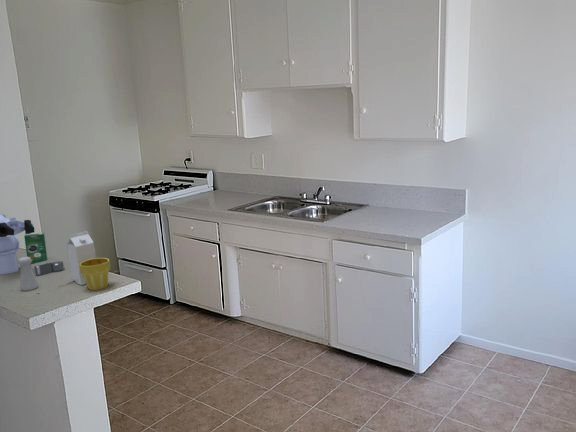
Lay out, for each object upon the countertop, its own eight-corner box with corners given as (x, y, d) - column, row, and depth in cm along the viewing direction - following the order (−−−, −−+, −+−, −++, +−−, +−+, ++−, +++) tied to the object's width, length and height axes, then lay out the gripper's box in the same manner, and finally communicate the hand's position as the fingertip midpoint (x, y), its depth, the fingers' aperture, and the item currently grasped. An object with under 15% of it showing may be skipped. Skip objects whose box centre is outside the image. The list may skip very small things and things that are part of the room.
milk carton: (72, 282, 205) (65, 233, 201) (90, 277, 210) (83, 229, 206) (81, 285, 200) (74, 236, 196) (99, 280, 205) (92, 232, 201)
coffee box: (48, 260, 238) (44, 232, 236) (48, 262, 236) (43, 233, 233) (28, 263, 236) (24, 234, 233) (28, 265, 233) (23, 236, 230)
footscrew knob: (60, 267, 221) (59, 259, 220) (66, 269, 218) (65, 260, 217) (33, 274, 213) (32, 265, 212) (39, 276, 210) (37, 267, 209)
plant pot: (92, 294, 189) (88, 267, 187) (77, 288, 196) (73, 263, 194) (118, 285, 197) (114, 259, 195) (103, 281, 204) (99, 256, 202)
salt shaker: (41, 288, 199) (35, 254, 197) (34, 293, 194) (29, 259, 191) (25, 289, 199) (19, 256, 196) (18, 295, 193) (12, 260, 191)
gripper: (-13, 217, 207) (3, 222, 198) (25, 214, 218) (41, 218, 210) (-12, 235, 208) (4, 241, 200) (26, 231, 219) (42, 236, 211)
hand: (23, 231), depth 205 cm, fingers open, 7 cm apart
